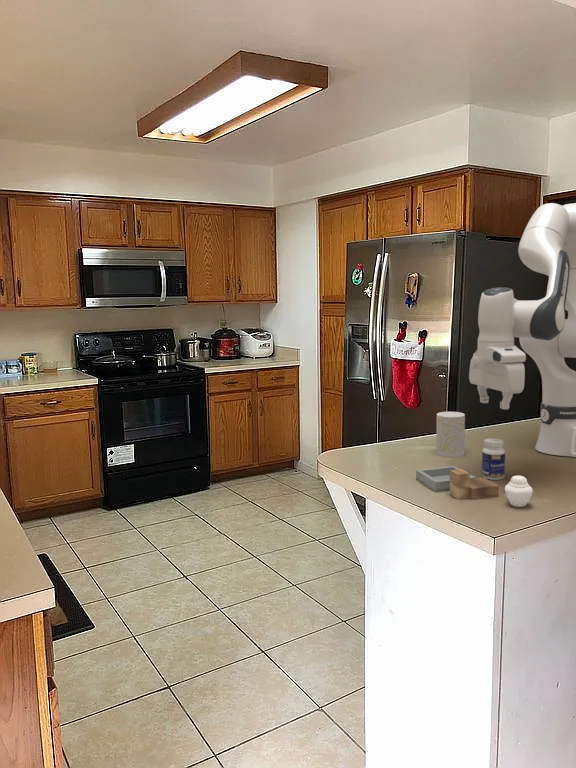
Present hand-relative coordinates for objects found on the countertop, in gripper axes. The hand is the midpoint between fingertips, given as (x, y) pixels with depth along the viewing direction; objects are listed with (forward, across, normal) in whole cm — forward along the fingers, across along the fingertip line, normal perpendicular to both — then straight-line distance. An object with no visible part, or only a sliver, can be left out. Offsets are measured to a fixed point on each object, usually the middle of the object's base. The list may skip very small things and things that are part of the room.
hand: (494, 405), depth 166 cm
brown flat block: (+20, +10, -10) cm, 24 cm away
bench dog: (+19, +10, -15) cm, 27 cm away
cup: (+19, -25, +1) cm, 32 cm away
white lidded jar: (+20, +20, -6) cm, 29 cm away
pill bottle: (+19, 0, 0) cm, 19 cm away
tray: (+19, 0, -14) cm, 24 cm away
